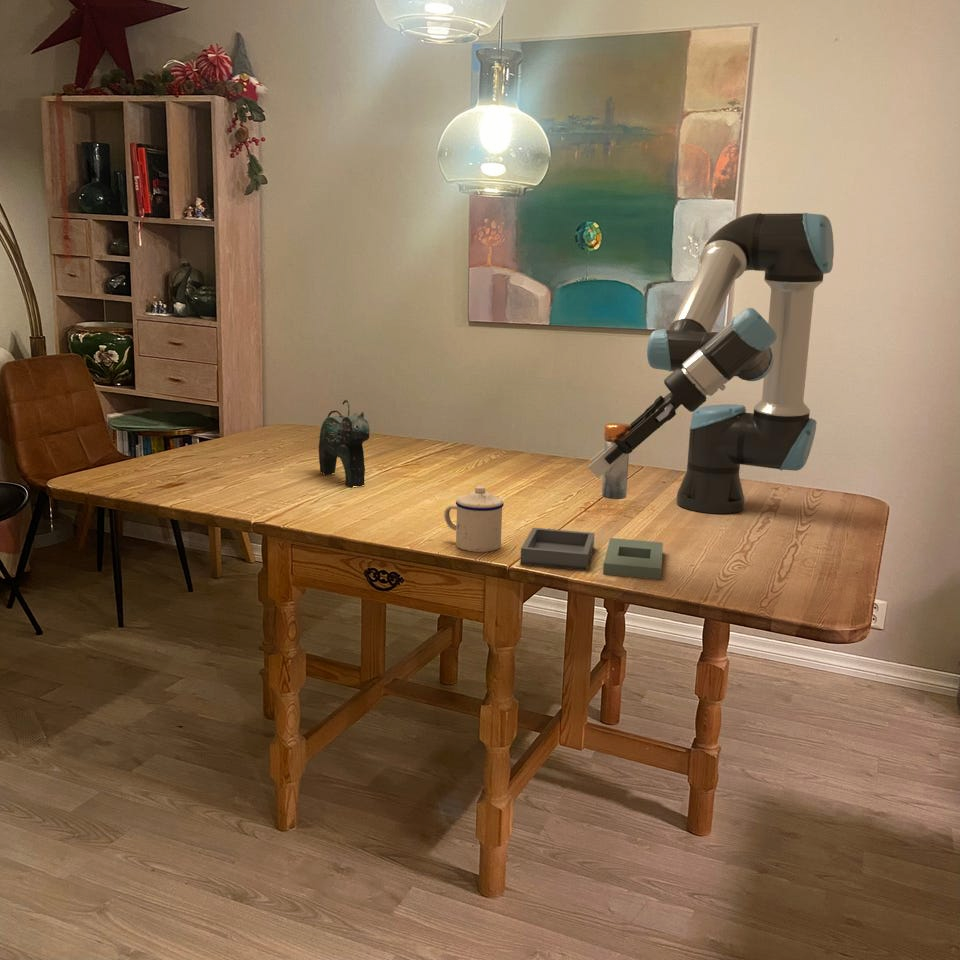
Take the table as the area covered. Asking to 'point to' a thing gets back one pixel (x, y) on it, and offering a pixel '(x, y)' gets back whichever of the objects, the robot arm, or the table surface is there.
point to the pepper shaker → (618, 473)
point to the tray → (557, 548)
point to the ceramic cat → (344, 445)
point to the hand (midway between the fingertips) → (594, 469)
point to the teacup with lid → (477, 521)
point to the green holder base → (633, 558)
